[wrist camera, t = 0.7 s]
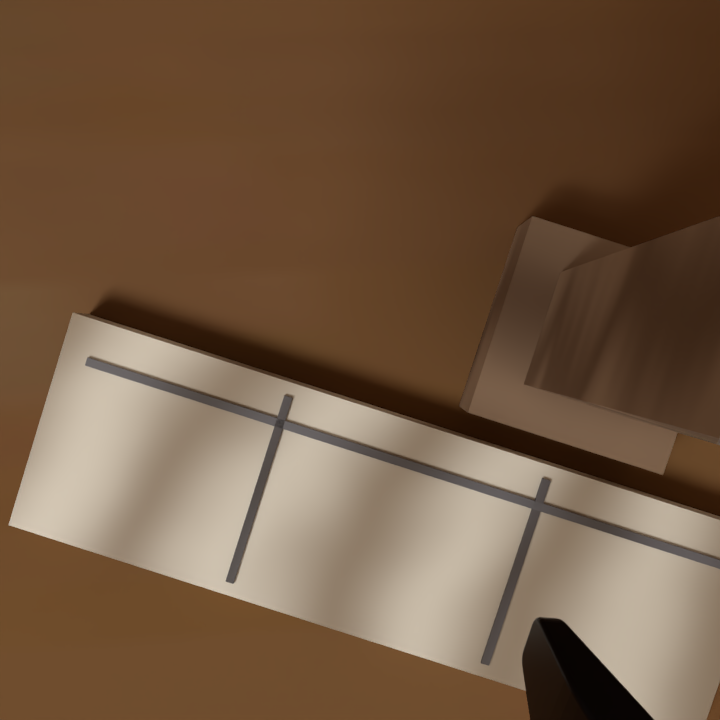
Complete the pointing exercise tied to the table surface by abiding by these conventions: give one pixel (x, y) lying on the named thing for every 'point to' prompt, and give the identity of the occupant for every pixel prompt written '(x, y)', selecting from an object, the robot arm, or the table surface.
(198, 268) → the table surface
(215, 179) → the table surface
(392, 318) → the table surface
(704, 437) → the square column stand
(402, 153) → the table surface
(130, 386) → the ash board
